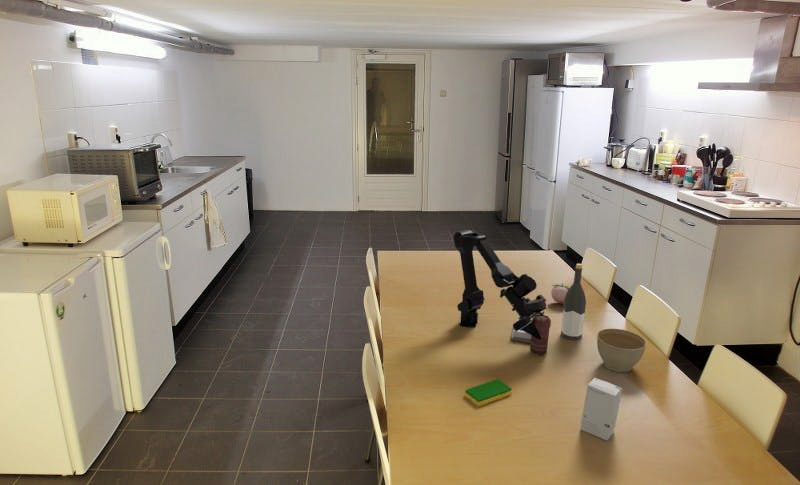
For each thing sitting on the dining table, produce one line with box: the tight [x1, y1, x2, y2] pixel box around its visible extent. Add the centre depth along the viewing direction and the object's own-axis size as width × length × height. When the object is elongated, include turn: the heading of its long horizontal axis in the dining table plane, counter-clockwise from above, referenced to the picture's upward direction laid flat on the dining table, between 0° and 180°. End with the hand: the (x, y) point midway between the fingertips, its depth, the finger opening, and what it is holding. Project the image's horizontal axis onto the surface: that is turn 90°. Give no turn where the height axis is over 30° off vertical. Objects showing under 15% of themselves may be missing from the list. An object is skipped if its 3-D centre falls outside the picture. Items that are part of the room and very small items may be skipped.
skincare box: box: [579, 377, 623, 441], centre depth 153 cm, size 8×6×15 cm
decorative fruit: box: [550, 283, 571, 305], centre depth 243 cm, size 9×8×10 cm
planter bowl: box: [596, 328, 647, 373], centre depth 189 cm, size 16×16×11 cm
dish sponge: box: [464, 378, 513, 407], centre depth 172 cm, size 7×14×2 cm, turn 121°
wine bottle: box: [560, 263, 587, 341], centre depth 210 cm, size 8×8×30 cm
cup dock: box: [510, 319, 531, 344], centre depth 213 cm, size 13×13×4 cm
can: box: [529, 314, 552, 356], centre depth 198 cm, size 6×6×14 cm
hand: (543, 336), depth 197 cm, fingers closed on can, 6 cm apart
